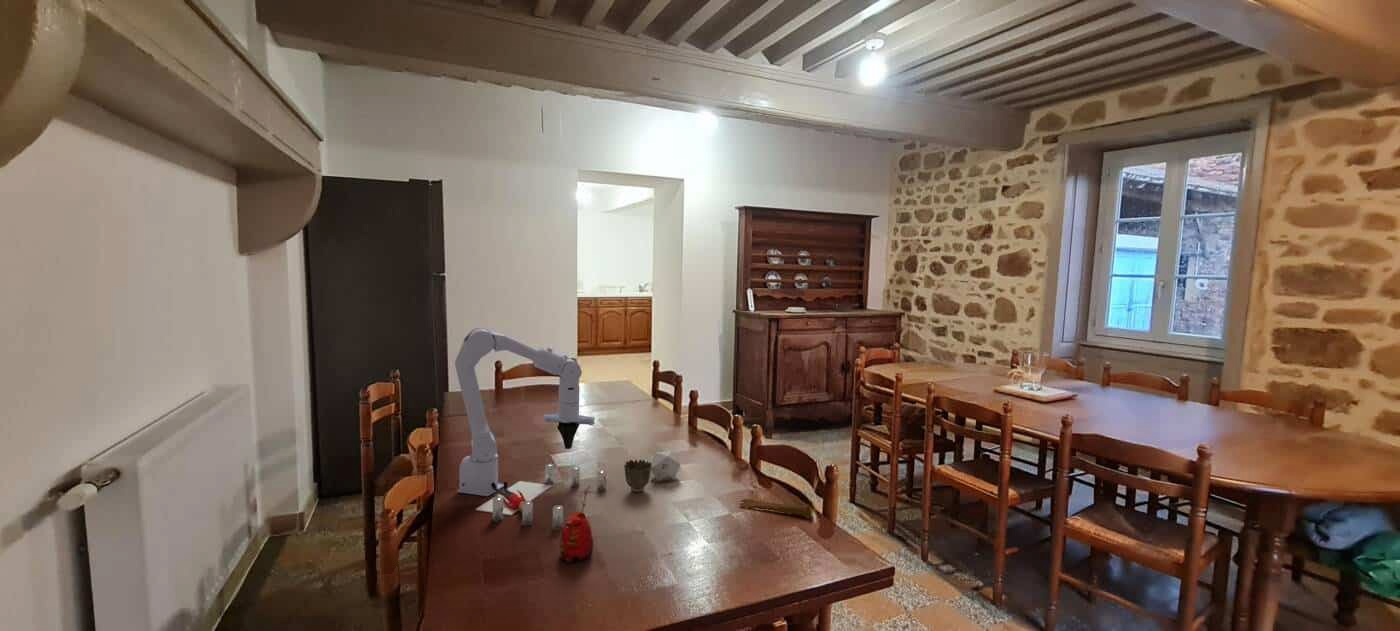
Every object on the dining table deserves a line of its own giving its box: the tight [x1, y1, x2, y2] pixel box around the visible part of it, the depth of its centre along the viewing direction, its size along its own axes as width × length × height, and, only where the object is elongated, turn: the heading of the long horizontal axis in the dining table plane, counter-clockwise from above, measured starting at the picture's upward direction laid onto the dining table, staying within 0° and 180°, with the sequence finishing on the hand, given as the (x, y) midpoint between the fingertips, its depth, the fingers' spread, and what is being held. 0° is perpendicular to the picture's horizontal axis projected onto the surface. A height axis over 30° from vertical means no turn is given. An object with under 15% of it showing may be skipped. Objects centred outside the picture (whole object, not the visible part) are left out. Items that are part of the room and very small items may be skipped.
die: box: [650, 450, 681, 482], centre depth 169 cm, size 8×9×10 cm
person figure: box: [491, 481, 526, 514], centre depth 148 cm, size 5×4×18 cm
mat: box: [475, 480, 552, 517], centre depth 152 cm, size 10×20×1 cm, turn 166°
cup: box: [623, 459, 652, 494], centre depth 158 cm, size 8×7×8 cm
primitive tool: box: [740, 498, 812, 519], centre depth 149 cm, size 19×6×4 cm, turn 69°
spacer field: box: [492, 463, 607, 531], centre depth 149 cm, size 18×27×5 cm
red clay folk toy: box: [559, 485, 594, 564], centre depth 122 cm, size 8×7×15 cm
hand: (568, 447), depth 165 cm, fingers closed
